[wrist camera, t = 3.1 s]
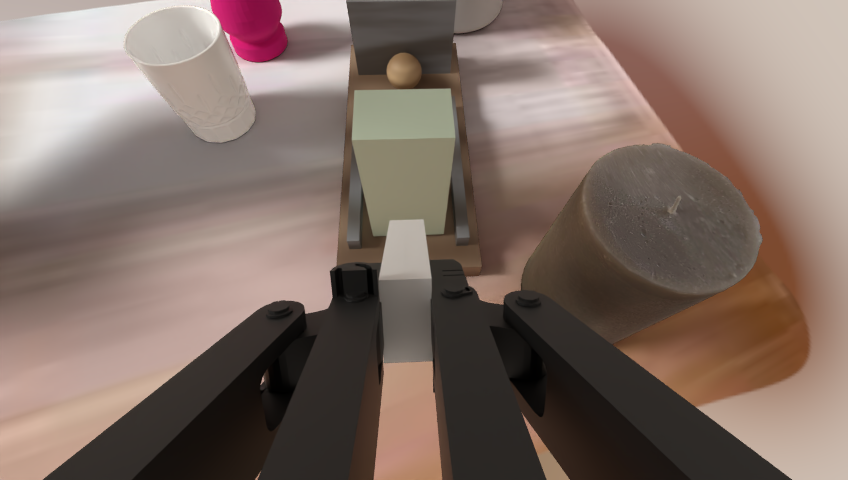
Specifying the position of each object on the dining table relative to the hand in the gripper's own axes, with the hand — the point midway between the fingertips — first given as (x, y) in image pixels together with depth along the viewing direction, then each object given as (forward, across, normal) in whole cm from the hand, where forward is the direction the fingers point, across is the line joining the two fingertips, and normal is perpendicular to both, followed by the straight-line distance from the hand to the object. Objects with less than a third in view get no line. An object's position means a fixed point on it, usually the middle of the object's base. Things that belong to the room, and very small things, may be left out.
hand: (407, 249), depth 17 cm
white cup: (+28, -20, +6) cm, 35 cm away
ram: (+17, 0, -2) cm, 17 cm away
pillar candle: (+14, +14, -9) cm, 22 cm away
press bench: (+25, 0, +2) cm, 25 cm away
